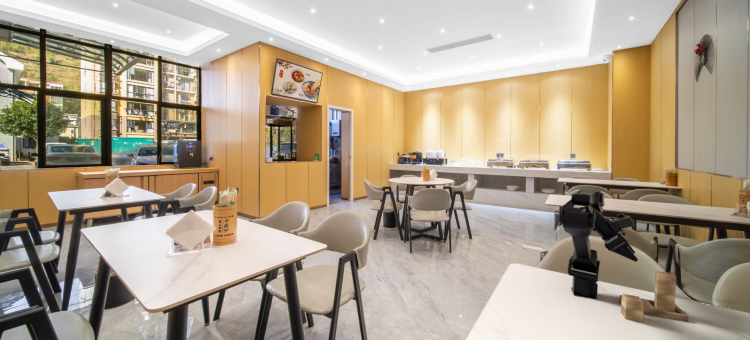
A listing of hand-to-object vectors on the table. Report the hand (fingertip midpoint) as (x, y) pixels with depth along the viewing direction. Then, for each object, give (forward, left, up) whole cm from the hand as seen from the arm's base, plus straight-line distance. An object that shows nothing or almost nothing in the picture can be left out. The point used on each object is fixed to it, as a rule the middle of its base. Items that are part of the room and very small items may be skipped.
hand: (635, 257), depth 102 cm
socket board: (+2, -10, -14) cm, 17 cm away
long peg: (+5, -10, -14) cm, 17 cm away
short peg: (-5, -18, -14) cm, 23 cm away
